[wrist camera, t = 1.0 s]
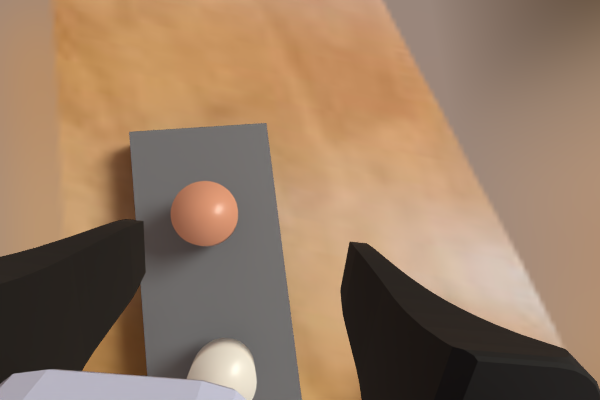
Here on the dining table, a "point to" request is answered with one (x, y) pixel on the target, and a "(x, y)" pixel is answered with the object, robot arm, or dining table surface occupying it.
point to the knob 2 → (226, 366)
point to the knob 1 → (204, 213)
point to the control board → (214, 256)
